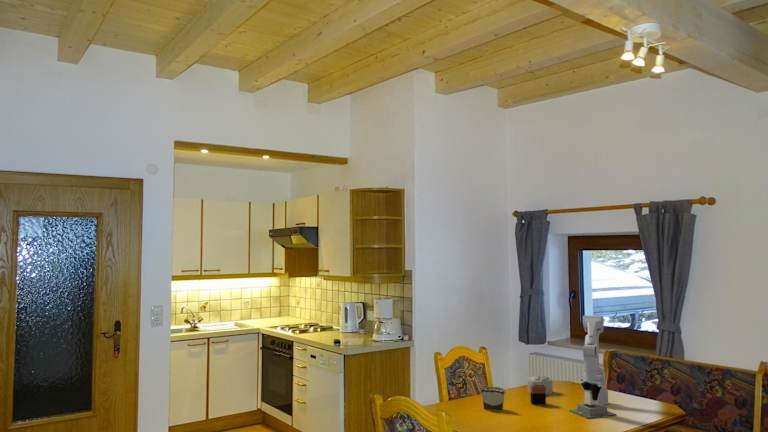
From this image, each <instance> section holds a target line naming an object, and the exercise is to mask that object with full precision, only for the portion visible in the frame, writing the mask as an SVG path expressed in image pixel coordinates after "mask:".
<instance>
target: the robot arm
mask: <svg viewBox="0 0 768 432" xmlns="http://www.w3.org/2000/svg"><path fill="white" fill-rule="evenodd" d="M604 323H605V322H604V316H603V315H588V314H587V315H585V314H584V315H583V316H582V325H583V329H584V332H586V333H587V334H586V335H585V336H584V345H583V346H582V355H583V360H584V363H583V364H584V365H583V366H584V373H583V376H580V377H579V381H580V382H581V383H580V384H581V386H582V388H583V391H584V390H591V392H592V399H593V400H594V401H595V400H597V399H598V395H599V404H601V405H603V406H606V405H610V403H609V390H608V388H607V386H606V373H605V370H604V368H602V366H600V357H599V356H600V354H599V353H600V349H599V348H600V347H599V337H600V334H602V333H603V332H604V326H605V325H604ZM583 402H584V403H585V400H584V401H583Z"/></svg>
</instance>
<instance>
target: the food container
mask: <svg viewBox="0 0 768 432" xmlns="http://www.w3.org/2000/svg"><path fill="white" fill-rule="evenodd" d="M480 394H481V398H482V407H483V410H488V411H497V412H503V411H504V404H505V403H504V400H505V394H506V390H505V389H504V388H503V387H500V386H499V387H498V386H485V387H481V389H480Z"/></svg>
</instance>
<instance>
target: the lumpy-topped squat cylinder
mask: <svg viewBox="0 0 768 432" xmlns="http://www.w3.org/2000/svg"><path fill="white" fill-rule="evenodd" d="M526 380H527V393H529V394H530V385H533V384H536V385H539V383H542V384H543V385H544V386H545V387H546V395H547V396H548V395H551V394H553V390H554V389H553V379H552V378H550V377H548V376H547V375H541V376H540V375H538V374H536V375H534V376H530V377H528V378H527V379H526Z"/></svg>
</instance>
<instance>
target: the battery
mask: <svg viewBox="0 0 768 432" xmlns="http://www.w3.org/2000/svg"><path fill="white" fill-rule="evenodd" d="M529 394H530V403H531V405H533V406H538V405H540V406H541V405H542V406H543V405H547V398H546V397H547V396H546V387H545V386H544V385H543V384H542V383H539V385H536V384H533V385H530V393H529Z"/></svg>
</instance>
